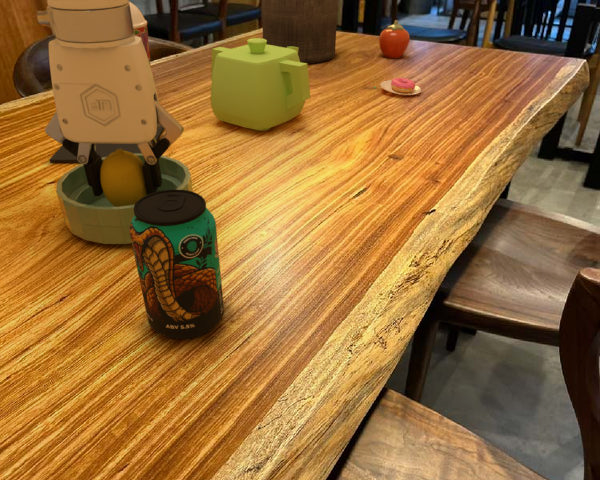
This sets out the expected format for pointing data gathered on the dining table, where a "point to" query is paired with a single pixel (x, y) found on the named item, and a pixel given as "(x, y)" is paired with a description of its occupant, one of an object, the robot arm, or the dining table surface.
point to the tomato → (394, 41)
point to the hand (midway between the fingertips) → (127, 190)
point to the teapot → (258, 84)
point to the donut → (400, 86)
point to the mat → (99, 150)
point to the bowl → (100, 212)
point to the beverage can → (177, 263)
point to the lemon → (122, 178)
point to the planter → (302, 27)
